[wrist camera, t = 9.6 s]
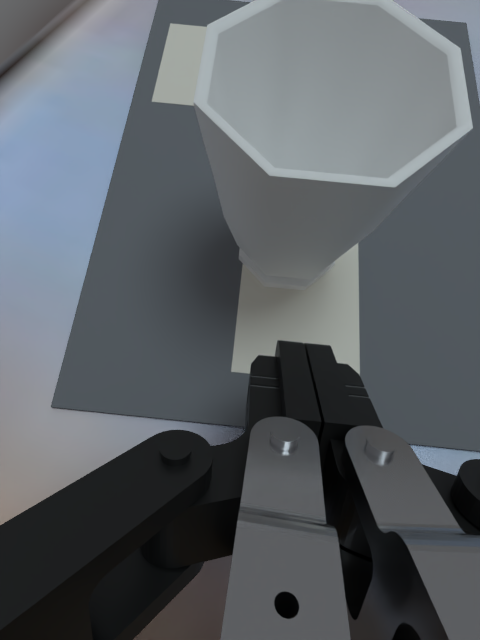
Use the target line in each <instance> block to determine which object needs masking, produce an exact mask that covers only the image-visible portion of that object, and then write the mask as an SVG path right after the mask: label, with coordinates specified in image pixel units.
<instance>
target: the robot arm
mask: <svg viewBox="0 0 480 640" xmlns="http://www.w3.org/2000/svg"><path fill="white" fill-rule="evenodd" d="M229 555H232V562H231V569H230V576H229V583H228V590H227V597H226V604H225V611H224V618H223V625H222V632H221V639H220V640H480V459H474V460H468V461H466V462H464V463H463V464H462V465H461V467H460V469H459V472H458V474H457V476H455V475H452V474H449V473H446V472H443V471H440V470H437V469H434V468H431V467H428V466H425V465H423V464H421V462H420V461H419V459H418V458H417V456H416V454H415V453H414V451H413V449H412V448H411V447H410V445H409V444H408V443H407V442H406V441H405V440H403V439H402V438H401V437H399V436H398V435H396V434H395V433H393V432H391V431H388V430H386V429H383V427H382V424H381V422H380V420H379V418H378V415H377V413H376V411H375V409H374V406H373V404H372V402H371V400H370V398H369V395H368V393H367V391H366V389H365V388H364V384H363V382H362V379H361V377H360V375H359V374H358V373H357V372H356V371H355V370H354V369H353V368H352V367H350V366H349V365H348V364H343V363H337V361H336V359H335V356H334V353H333V350H332V348H331V346H330V345H321V344H311V343H302V342H292V341H282V340H278V341H277V345H276V351H275V357H274V356H264V355H258V356H257V357H256V359H255V360H254V361H253V362H252V363H251V368H250V377H249V385H248V394H247V402H246V415H245V432H244V434H243V435H242V436H240V437H239V438H238V439H236V440H234V441H232V442H229V443H226V444H222V445H216V446H210V444H209V443H208V442H207V441H206V440H205V439H204V438H203V437H201V436H200V435H198V434H195V433H193V432H189V431H184V430H169V431H165V432H161V433H158V434H156V435H154V436H152V437H150V438H149V439H147V440H145V441H144V442H142V443H140V444H138V445H137V446H135V447H133V448H132V449H130V450H128V451H127V452H125V453H123V454H121V455H120V456H118V457H116V458H115V459H113V460H111V461H109V462H108V463H106V464H104V465H103V466H101V467H99V468H98V469H96V470H94V471H92V472H91V473H89V474H87V475H86V476H84V477H82V478H80V479H79V480H77V481H75V482H74V483H72V484H70V485H69V486H67V487H65V488H63V489H62V490H60V491H58V492H57V493H55V494H53V495H51V496H50V497H48V498H46V499H45V500H43V501H41V502H40V503H38V504H36V505H34V506H33V507H31V508H29V509H28V510H26V511H24V512H22V513H21V514H19V515H17V516H16V517H14V518H12V519H11V520H9V521H7V522H5V523H4V524H2V525H0V640H133V639H134V638H135V637H136V636H137V635H138V634H139V633H140V632H141V631H142V630H143V629H144V628H145V627H146V626H147V625H148V624H149V623H150V622H151V621H152V620H153V619H154V618H155V617H156V616H157V615H158V613H159V612H160V611H161V610H162V609H163V608H164V607H165V606H166V605H167V604H168V603H169V602H170V601H171V600H172V599H173V598H174V597H175V596H176V595H177V594H178V593H179V592H180V591H181V590H182V589H183V588H184V587H185V586H186V585H187V584H188V583H189V582H190V581H191V580H192V579H193V578H194V577H195V576H196V575H197V574H198V573H199V571H200V570H201V568H202V566H203V563H204V561H208V560H212V559H216V558H221V557H225V556H229Z"/></svg>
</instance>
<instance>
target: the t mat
mask: <svg viewBox="0 0 480 640" xmlns="http://www.w3.org/2000/svg"><path fill="white" fill-rule="evenodd" d="M249 3H251V2H241V1H230V0H159V1H158V4H157V8H156V12H155V16H154V20H153V23H152V27H151V31H150V35H149V38H148V42H147V46H146V50H145V53H144V57H143V61H142V65H141V69H140V72H139V76H138V80H137V84H136V87H135V91H134V95H133V99H132V103H131V106H130V110H129V114H128V118H127V121H126V125H125V129H124V133H123V137H122V140H121V144H120V148H119V152H118V155H117V159H116V163H115V167H114V170H113V174H112V178H111V182H110V186H109V189H108V193H107V197H106V201H105V204H104V208H103V212H102V216H101V220H100V223H99V227H98V231H97V235H96V238H95V242H94V246H93V250H92V254H91V257H90V261H89V265H88V269H87V272H86V276H85V280H84V284H83V288H82V291H81V295H80V299H79V303H78V306H77V310H76V314H75V318H74V321H73V325H72V329H71V333H70V337H69V340H68V344H67V348H66V352H65V355H64V359H63V363H62V367H61V371H60V374H59V378H58V382H57V386H56V389H55V393H54V397H53V401H52V405H51V407H53V408H63V409H73V410H82V411H92V412H102V413H111V414H121V415H131V416H141V417H150V418H160V419H170V420H179V421H189V422H199V423H209V424H218V425H228V426H238V427H245V415H246V402H247V394H248V385H249V377H250V368H251V363H252V362H253V361H254V360H255V359H256V357H257V356H258V355H264V356H274V357H275V351H276V345H277V341H278V340H282V341H292V342H302V343H311V344H321V345H330V346H331V348H332V350H333V353H334V356H335V359H336V361H337V363H343V364H348V365H349V366H350V367H352V368H353V369H354V370H355V371H356V372H357V373H358V374H359V375H360V377H361V379H362V382H363V384H364V388H365V389H366V391H367V393H368V395H369V398H370V400H371V402H372V404H373V406H374V409H375V411H376V413H377V415H378V418H379V420H380V422H381V424H382V427H383V429H386V430H388V431H391V432H393V433H395V434H396V435H398V436H399V437H401V438H402V439H403V440H405V441H406V442H407V443H408V444H412V445H422V446H432V447H442V448H451V449H461V450H471V451H480V104H479V98H478V92H477V86H476V80H475V73H474V67H473V61H472V55H471V49H470V43H469V37H468V30H467V24H466V23H462V22H451V21H441V20H430V19H420V18H418V19H420V20H421V21H422V22H424V23H425V24H427V25H428V26H430V27H431V28H432V29H434V30H435V31H437V32H438V33H439V34H441V35H442V36H444V37H445V38H447V39H448V40H449V41H451V42H452V43H454V44H455V45H457V46H458V47H459V48H460V49H461V55H462V61H463V68H464V74H465V80H466V87H467V93H468V99H469V106H470V112H471V119H472V125H473V129H472V130H471V131H470V132H469V133H468V134H467V135H466V136H465V137H464V138H463V139H462V140H461V141H460V142H459V143H458V144H457V145H456V146H455V147H454V149H453V150H452V151H451V152H450V153H449V154H448V155H447V156H446V157H445V158H444V159H443V160H442V161H441V162H440V163H439V164H438V165H437V166H436V167H435V168H434V169H433V170H432V171H431V172H430V173H429V174H428V175H427V176H426V177H425V178H424V179H423V180H422V181H421V182H420V183H419V184H418V185H417V186H416V187H415V188H414V189H413V190H412V191H411V192H410V193H409V194H408V195H407V196H406V197H405V198H404V199H403V200H402V201H401V202H400V203H399V204H398V205H397V206H396V208H395V209H394V210H393V211H392V212H391V213H390V214H389V215H388V216H387V217H386V218H385V219H384V220H383V221H382V222H381V223H380V224H379V225H378V226H377V227H376V229H375V230H374V231H372V232H371V233H370V234H369V235H367V236H366V237H365V238H364V239H362V240H361V241H360V242H358V243H357V244H356V245H355V246H353V247H352V248H351V249H349V250H348V251H347V252H346V253H344V254H343V255H342V256H341V257H339V258H338V259H337V260H335V264H334V266H333V268H332V269H331V270H329V271H328V272H327V273H326V274H324V275H323V276H322V277H320V278H319V279H318V280H317V281H315V282H314V283H313V284H312V285H310V286H309V287H308V288H307V289H305V290H295V289H285V288H274V287H264V286H263V285H262V284H261V282H260V281H259V280H258V279H257V278H256V277H255V276H254V275H253V274H252V273H251V272H250V271H249V270H248V268H247V267H246V266H245V265H244V264H243V263H242V262H241V261H240V260H239V250H240V247H239V246H238V245H237V243H236V241H235V239H234V237H233V235H232V233H231V231H230V229H229V226H228V224H227V222H226V220H225V218H224V215H223V211H222V207H221V203H220V199H219V195H218V191H217V188H216V184H215V180H214V176H213V172H212V169H211V165H210V162H209V158H208V155H207V151H206V148H205V145H204V141H203V137H202V133H201V130H200V126H199V122H198V118H197V114H196V111H195V107H194V103H193V101H194V95H195V90H196V84H197V79H198V73H199V68H200V63H201V57H202V52H203V46H204V41H205V35H206V30H207V25H208V24H210V23H212V22H214V21H216V20H218V19H220V18H222V17H224V16H226V15H228V14H230V13H232V12H233V11H235V10H237V9H239V8H241V7H243V6H245V5H247V4H249Z"/></svg>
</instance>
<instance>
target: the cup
mask: <svg viewBox="0 0 480 640" xmlns="http://www.w3.org/2000/svg"><path fill="white" fill-rule="evenodd" d="M193 103H194V107H195V111H196V114H197V118H198V122H199V126H200V130H201V133H202V137H203V141H204V145H205V148H206V151H207V155H208V158H209V162H210V165H211V169H212V172H213V176H214V180H215V184H216V188H217V191H218V195H219V199H220V203H221V207H222V211H223V215H224V218H225V220H226V222H227V224H228V226H229V229H230V231H231V233H232V235H233V237H234V239H235V241H236V243H237V245H238V246H239V247H240V250H239V260H240V261H241V262H242V263H243V264H244V265H245V266H246V267H247V268H248V270H249V271H250V272H251V273H252V274H253V275H254V276H255V277H256V278H257V279H258V280H259V281H260V282H261V284H262V285H263V286H264V287H274V288H285V289H295V290H305V289H307V288H308V287H309V286H310V285H312V284H313V283H314V282H315V281H317V280H318V279H319V278H320V277H322V276H323V275H324V274H326V273H327V272H328V271H329V270H331V269H332V268H333V266H334V264H335V260H337V259H338V258H339V257H341V256H342V255H343V254H344V253H346V252H347V251H348V250H349V249H351V248H352V247H353V246H355V245H356V244H357V243H358V242H360V241H361V240H362V239H364V238H365V237H366V236H367V235H369V234H370V233H371V232H372V231H374V230H375V229H376V227H377V226H378V225H379V224H380V223H381V222H382V221H383V220H384V219H385V218H386V217H387V216H388V215H389V214H390V213H391V212H392V211H393V210H394V209H395V208H396V206H397V205H398V204H399V203H400V202H401V201H402V200H403V199H404V198H405V197H406V196H407V195H408V194H409V193H410V192H411V191H412V190H413V189H414V188H415V187H416V186H417V185H418V184H419V183H420V182H421V181H422V180H423V179H424V178H425V177H426V176H427V175H428V174H429V173H430V172H431V171H432V170H433V169H434V168H435V167H436V166H437V165H438V164H439V163H440V162H441V161H442V160H443V159H444V158H445V157H446V156H447V155H448V154H449V153H450V152H451V151H452V150H453V149H454V147H455V146H456V145H457V144H458V143H459V142H460V141H461V140H462V139H463V138H464V137H465V136H466V135H467V134H468V133H469V132H470V131H471V130H472V129H473V125H472V119H471V112H470V106H469V99H468V93H467V87H466V80H465V74H464V68H463V61H462V55H461V49H460V48H459V47H458V46H457V45H455V44H454V43H452V42H451V41H449V40H448V39H447V38H445V37H444V36H442V35H441V34H439V33H438V32H437V31H435V30H434V29H432V28H431V27H430V26H428V25H427V24H425V23H424V22H422V21H421V20H420V19H418V18H417V17H415V16H414V15H412V14H411V13H410V12H408V11H407V10H405V9H404V8H403V7H401V6H400V5H398V4H397V3H395V2H394V1H393V0H255V1H253V2H251V3H249V4H247V5H245V6H243V7H241V8H239V9H237V10H235V11H233V12H232V13H230V14H228V15H226V16H224V17H222V18H220V19H218V20H216V21H214V22H212V23H210V24H208V25H207V30H206V35H205V41H204V46H203V52H202V57H201V63H200V68H199V73H198V79H197V84H196V90H195V95H194V101H193Z"/></svg>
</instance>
